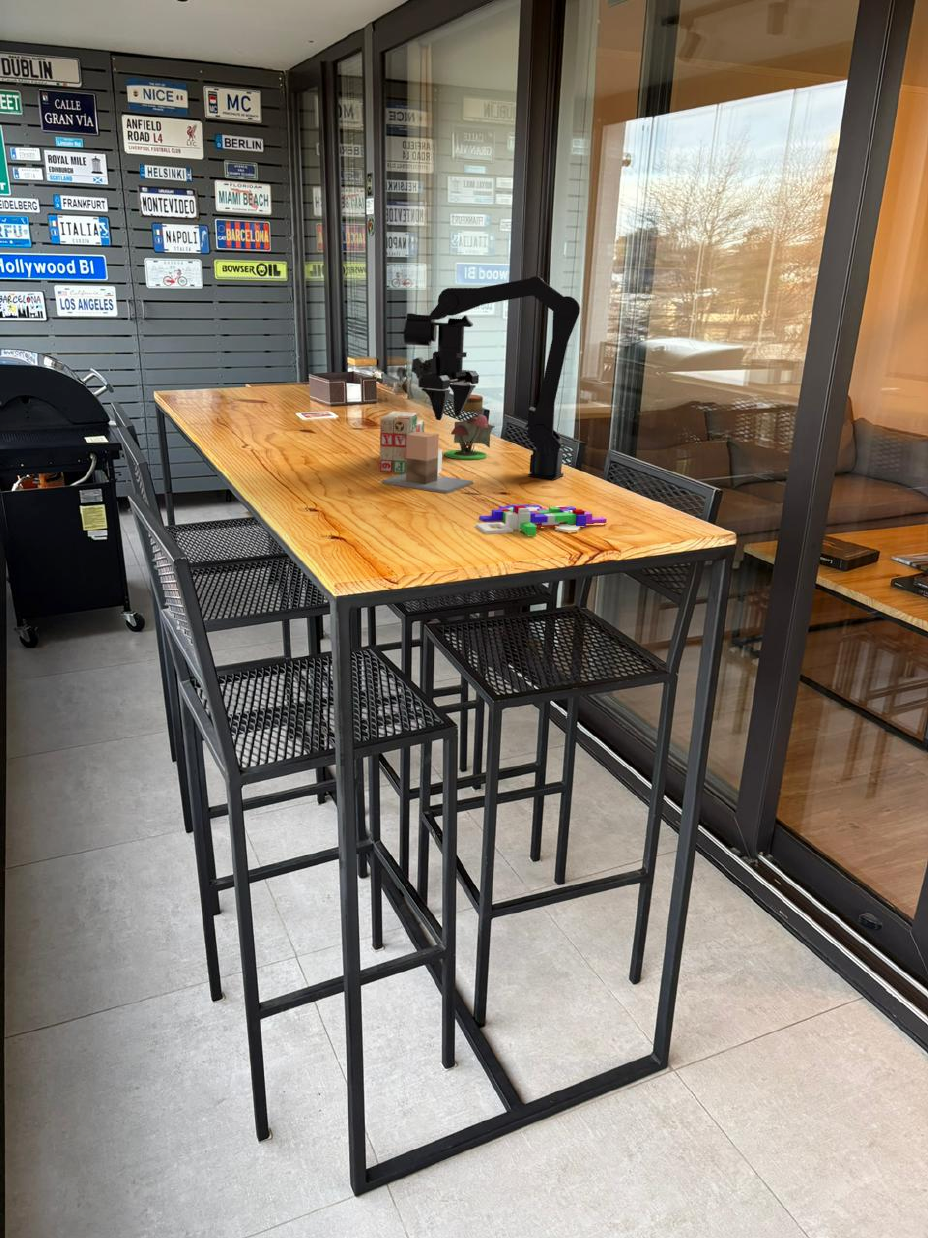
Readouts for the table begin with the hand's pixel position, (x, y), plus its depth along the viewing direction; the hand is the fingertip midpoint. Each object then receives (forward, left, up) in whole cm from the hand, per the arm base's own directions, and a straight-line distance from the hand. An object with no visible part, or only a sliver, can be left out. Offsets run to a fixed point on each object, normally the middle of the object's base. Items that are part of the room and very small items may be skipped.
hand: (448, 417), depth 208 cm
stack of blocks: (+11, +1, -12) cm, 17 cm away
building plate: (-4, +16, -12) cm, 20 cm away
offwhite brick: (+2, +5, -12) cm, 13 cm away
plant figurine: (+4, -19, -12) cm, 23 cm away
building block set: (-36, +32, -13) cm, 50 cm away
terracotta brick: (-3, +17, -6) cm, 18 cm away
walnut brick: (-3, +17, -11) cm, 21 cm away
